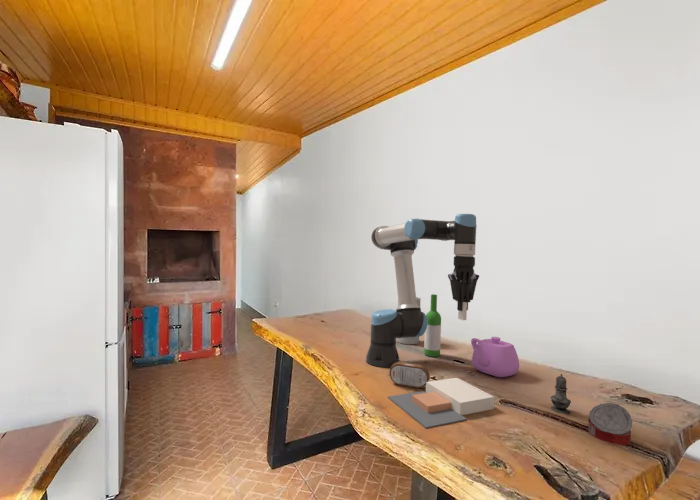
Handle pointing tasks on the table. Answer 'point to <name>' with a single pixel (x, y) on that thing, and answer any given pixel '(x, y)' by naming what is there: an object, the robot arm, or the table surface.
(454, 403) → the plate
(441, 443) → the table surface
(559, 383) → the dark grey turned piece
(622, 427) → the canned food
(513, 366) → the teapot
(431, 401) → the tile
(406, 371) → the tin
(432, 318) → the wine bottle
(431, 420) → the mat
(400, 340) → the cylinder vase
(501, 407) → the table surface
